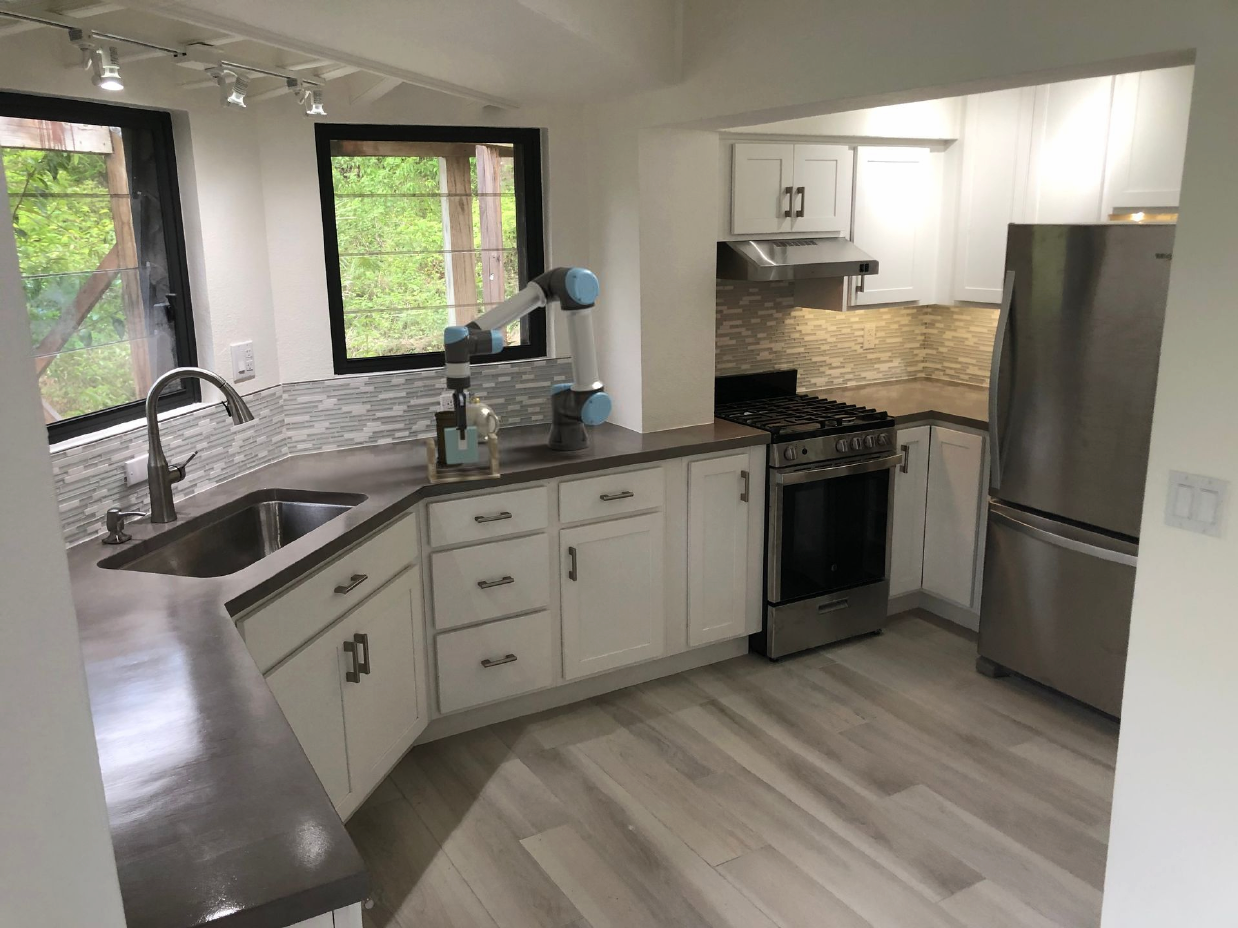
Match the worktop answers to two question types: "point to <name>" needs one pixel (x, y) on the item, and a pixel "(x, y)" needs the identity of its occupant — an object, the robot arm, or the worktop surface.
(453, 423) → the container
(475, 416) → the teapot
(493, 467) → the wooden rack
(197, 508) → the worktop surface
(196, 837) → the worktop surface
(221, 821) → the worktop surface
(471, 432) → the door panel
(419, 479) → the worktop surface
